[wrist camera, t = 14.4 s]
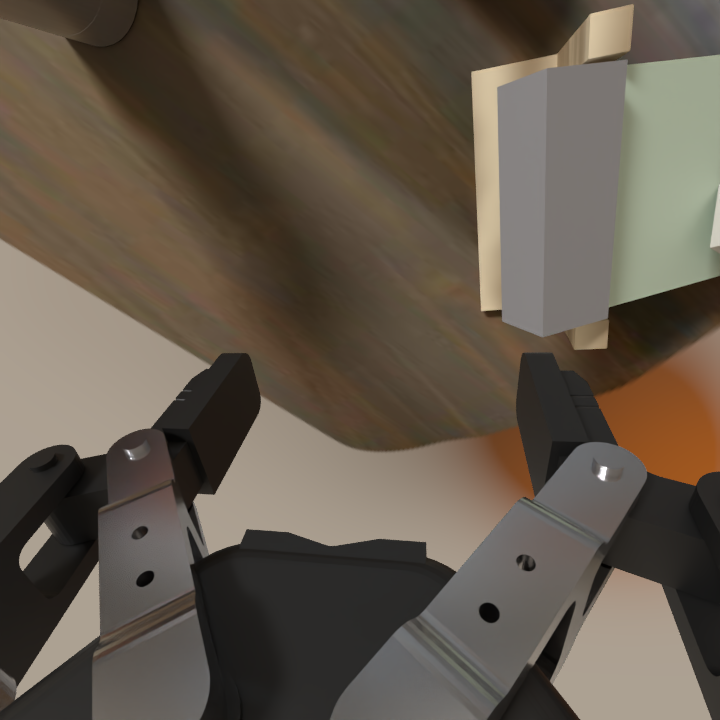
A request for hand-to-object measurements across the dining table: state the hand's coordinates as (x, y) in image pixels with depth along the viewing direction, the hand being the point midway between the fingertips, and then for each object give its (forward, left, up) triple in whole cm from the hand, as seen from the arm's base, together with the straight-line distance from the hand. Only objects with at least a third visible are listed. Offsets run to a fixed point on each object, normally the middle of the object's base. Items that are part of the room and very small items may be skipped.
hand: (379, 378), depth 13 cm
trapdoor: (+12, +2, -23) cm, 26 cm away
